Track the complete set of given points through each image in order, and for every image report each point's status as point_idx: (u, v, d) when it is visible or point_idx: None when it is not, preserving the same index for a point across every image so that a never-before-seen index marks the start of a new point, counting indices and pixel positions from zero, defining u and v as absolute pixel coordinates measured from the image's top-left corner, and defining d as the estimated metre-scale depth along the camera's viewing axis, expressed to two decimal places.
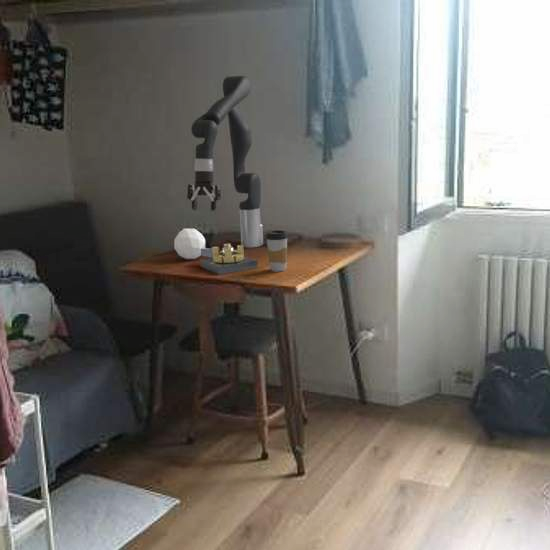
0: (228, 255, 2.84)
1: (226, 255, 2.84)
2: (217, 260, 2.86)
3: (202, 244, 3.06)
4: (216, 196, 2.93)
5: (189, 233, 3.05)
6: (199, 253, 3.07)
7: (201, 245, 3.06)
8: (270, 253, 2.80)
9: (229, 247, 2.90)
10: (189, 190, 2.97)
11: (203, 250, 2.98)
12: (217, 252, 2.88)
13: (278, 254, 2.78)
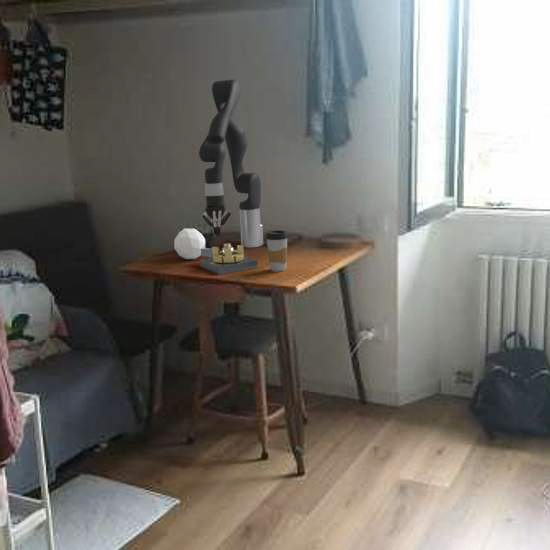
0: (228, 255, 2.84)
1: (226, 255, 2.84)
2: (217, 260, 2.86)
3: (202, 244, 3.06)
4: (224, 222, 2.99)
5: (189, 233, 3.05)
6: (199, 253, 3.07)
7: (201, 245, 3.06)
8: (270, 253, 2.80)
9: (229, 247, 2.90)
10: (206, 219, 2.96)
11: (203, 250, 2.98)
12: (217, 252, 2.88)
13: (278, 254, 2.78)
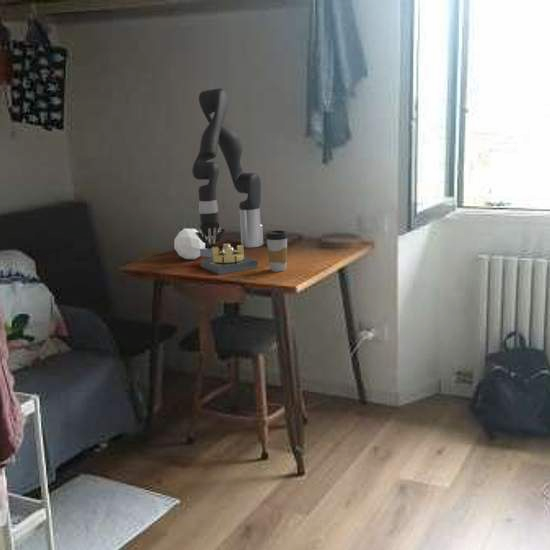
0: (229, 255, 2.84)
1: (227, 255, 2.84)
2: (217, 260, 2.86)
3: (202, 244, 3.06)
4: (218, 238, 2.99)
5: (189, 233, 3.05)
6: (199, 253, 3.07)
7: (201, 245, 3.06)
8: (270, 253, 2.80)
9: (229, 247, 2.90)
10: (202, 236, 2.95)
11: (202, 250, 2.97)
12: (217, 252, 2.88)
13: (278, 254, 2.78)
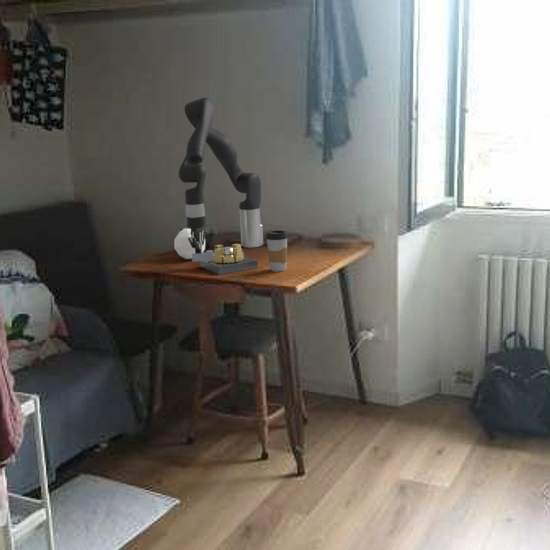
0: (239, 253, 2.86)
1: (238, 254, 2.86)
2: (228, 260, 2.85)
3: None
4: (203, 241, 2.94)
5: (189, 233, 3.05)
6: None
7: None
8: (270, 253, 2.80)
9: (229, 247, 2.90)
10: (196, 241, 2.87)
11: (195, 255, 2.88)
12: (223, 253, 2.86)
13: (278, 254, 2.78)
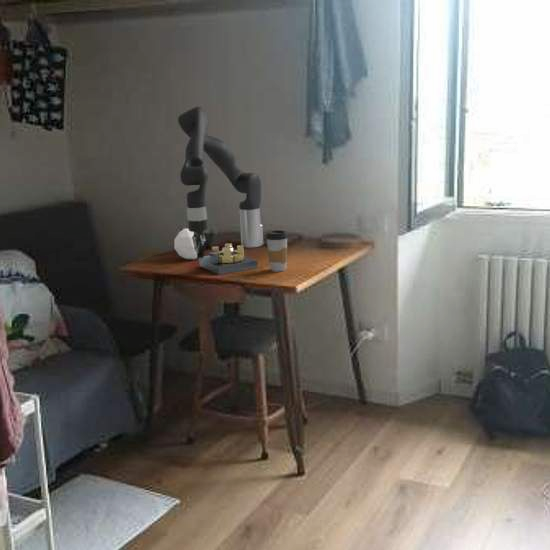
0: (243, 251, 2.90)
1: (243, 251, 2.89)
2: (238, 259, 2.86)
3: None
4: None
5: (189, 233, 3.05)
6: None
7: None
8: (270, 253, 2.80)
9: (229, 247, 2.90)
10: None
11: (205, 259, 2.81)
12: None
13: (278, 254, 2.78)
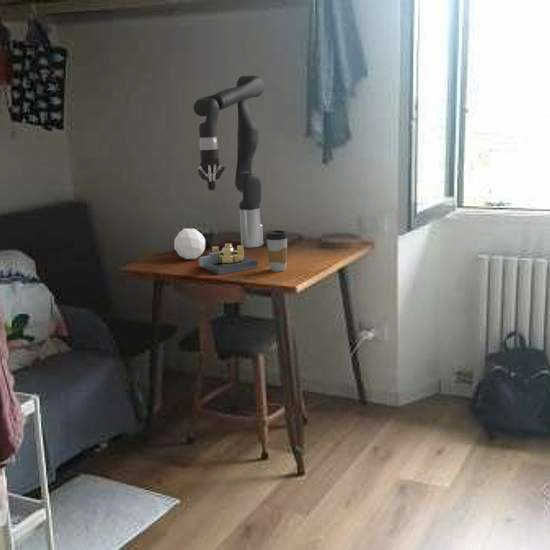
0: (243, 251, 2.90)
1: (243, 251, 2.89)
2: (238, 259, 2.86)
3: (202, 244, 3.06)
4: (218, 176, 3.03)
5: (189, 233, 3.05)
6: (199, 253, 3.07)
7: (201, 245, 3.06)
8: (270, 253, 2.80)
9: (229, 247, 2.90)
10: (202, 173, 2.99)
11: (205, 259, 2.81)
12: None
13: (278, 254, 2.78)
